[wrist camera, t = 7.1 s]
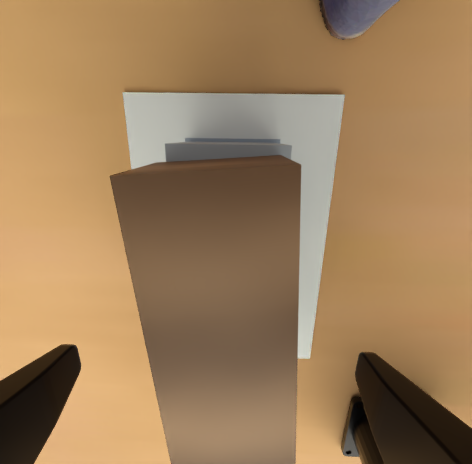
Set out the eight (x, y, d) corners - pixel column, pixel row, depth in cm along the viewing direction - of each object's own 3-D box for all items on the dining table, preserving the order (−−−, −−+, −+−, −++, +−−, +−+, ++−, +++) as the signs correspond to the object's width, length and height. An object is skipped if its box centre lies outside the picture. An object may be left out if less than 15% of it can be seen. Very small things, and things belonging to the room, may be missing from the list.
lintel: (281, 383, 15) (295, 469, 11) (190, 386, 15) (172, 471, 11) (280, 154, 11) (301, 164, 7) (155, 162, 11) (109, 176, 7)
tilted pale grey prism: (271, 226, 17) (282, 261, 12) (192, 225, 17) (173, 258, 12) (276, 142, 15) (292, 145, 10) (188, 141, 15) (164, 143, 11)
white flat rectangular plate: (309, 356, 21) (310, 359, 20) (153, 352, 21) (152, 354, 21) (343, 95, 15) (345, 94, 14) (124, 92, 15) (122, 92, 15)
